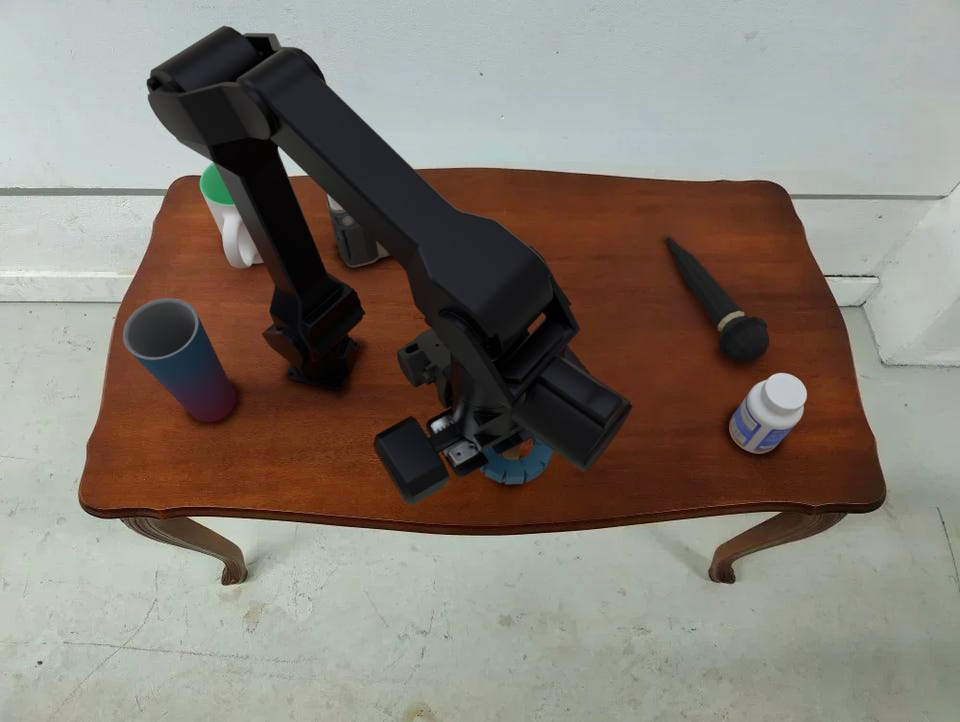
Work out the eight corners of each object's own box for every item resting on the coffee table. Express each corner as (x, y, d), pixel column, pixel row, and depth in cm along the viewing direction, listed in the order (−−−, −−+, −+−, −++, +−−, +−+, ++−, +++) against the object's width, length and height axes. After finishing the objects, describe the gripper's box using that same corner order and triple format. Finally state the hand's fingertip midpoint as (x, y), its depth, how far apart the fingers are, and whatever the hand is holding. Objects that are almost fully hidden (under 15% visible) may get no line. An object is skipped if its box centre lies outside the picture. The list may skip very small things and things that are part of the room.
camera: (343, 272, 87) (329, 217, 78) (335, 238, 90) (320, 180, 81) (433, 252, 89) (429, 196, 80) (422, 219, 92) (417, 161, 83)
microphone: (651, 263, 92) (735, 379, 81) (645, 235, 87) (733, 354, 76) (689, 243, 92) (779, 357, 80) (686, 214, 87) (780, 331, 75)
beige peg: (493, 480, 74) (496, 441, 65) (499, 457, 75) (503, 416, 66) (518, 486, 73) (524, 447, 65) (523, 463, 75) (530, 423, 66)
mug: (284, 288, 86) (262, 232, 77) (217, 290, 86) (188, 233, 77) (294, 213, 92) (275, 153, 83) (232, 215, 92) (205, 154, 83)
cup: (231, 434, 76) (181, 365, 63) (171, 424, 76) (109, 353, 64) (252, 380, 79) (209, 303, 66) (195, 370, 80) (141, 292, 67)
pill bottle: (783, 421, 77) (821, 378, 69) (771, 462, 75) (809, 423, 67) (734, 402, 79) (765, 357, 70) (721, 443, 76) (752, 401, 68)
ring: (472, 485, 66) (472, 478, 64) (469, 410, 70) (469, 402, 68) (555, 483, 66) (557, 475, 65) (548, 408, 70) (550, 400, 69)
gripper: (531, 251, 59) (520, 349, 72) (328, 352, 54) (357, 437, 67) (613, 349, 54) (584, 433, 68) (399, 469, 49) (414, 535, 62)
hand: (485, 456), depth 66 cm, fingers closed on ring, 2 cm apart
